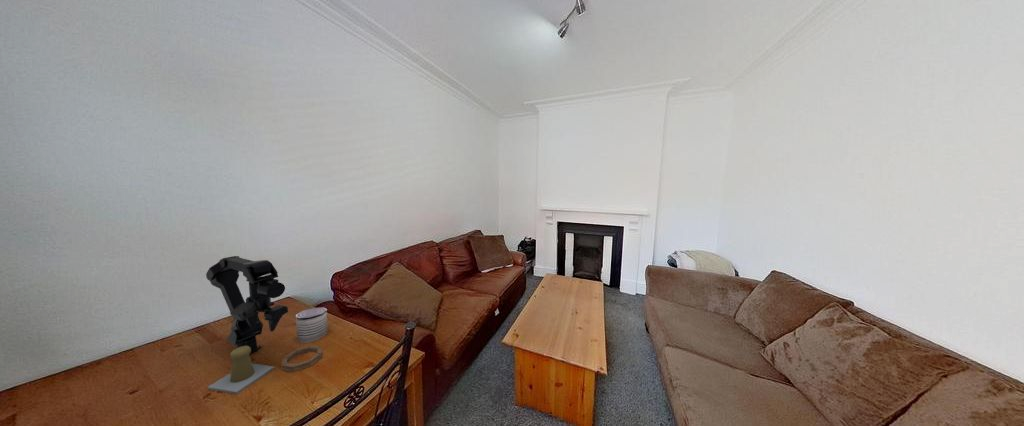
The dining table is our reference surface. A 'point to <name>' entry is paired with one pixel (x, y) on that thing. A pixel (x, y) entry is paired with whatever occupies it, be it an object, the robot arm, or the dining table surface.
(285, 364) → the walnut holder
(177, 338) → the dining table surface
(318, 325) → the can
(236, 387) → the slate mat
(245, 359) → the cork
